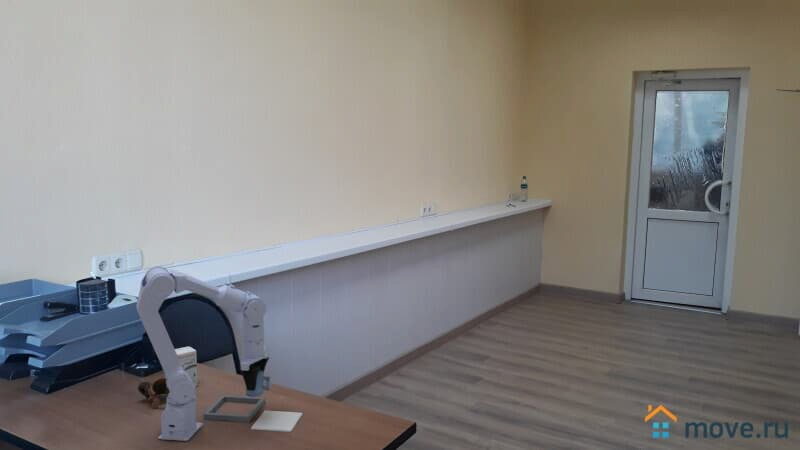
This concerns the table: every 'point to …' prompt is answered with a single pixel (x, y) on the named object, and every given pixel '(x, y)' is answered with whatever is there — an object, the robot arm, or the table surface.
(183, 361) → the ink box
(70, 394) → the table surface
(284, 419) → the mat
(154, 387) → the brown animal figurine
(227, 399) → the grey square frame
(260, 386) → the blue-grey mug
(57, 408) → the table surface
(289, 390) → the table surface
